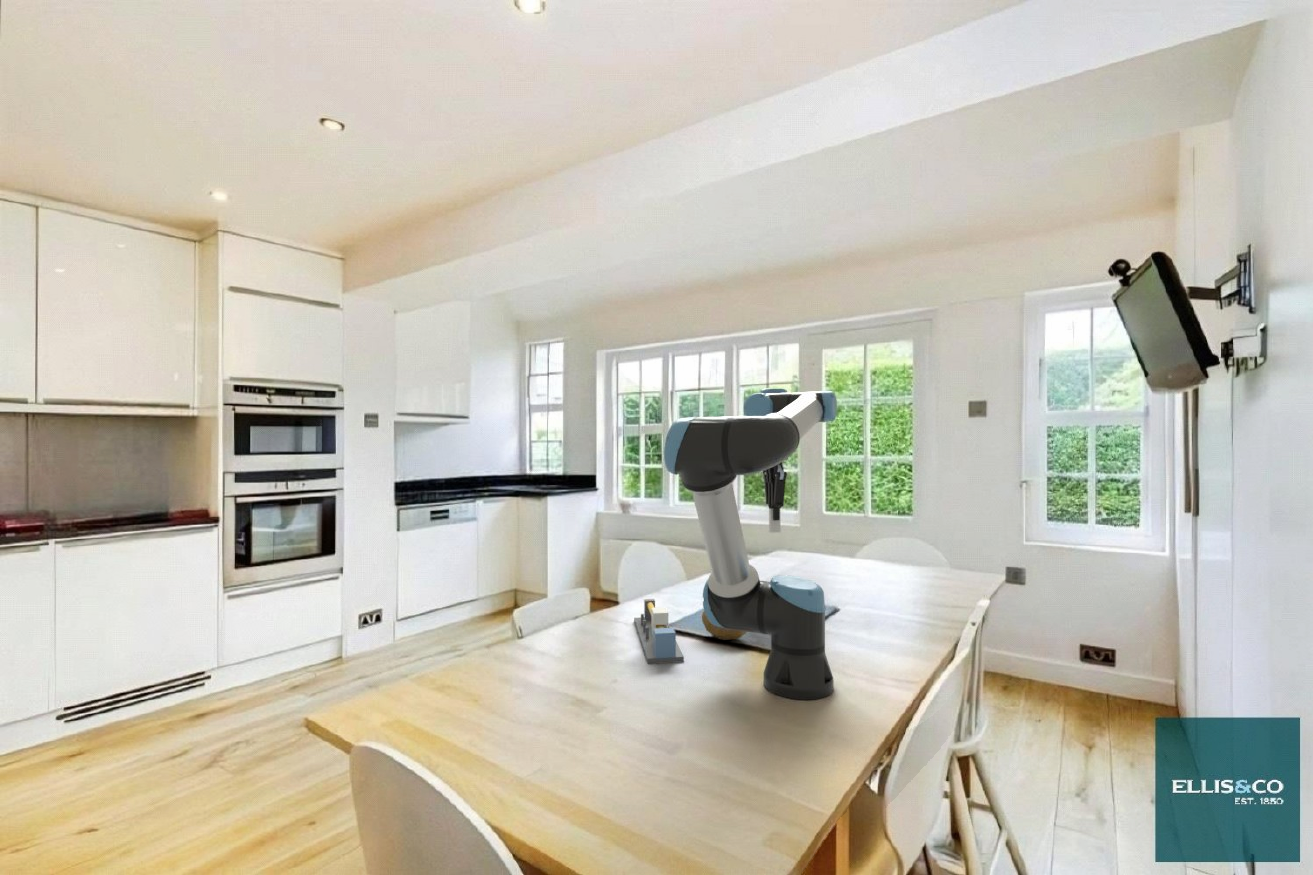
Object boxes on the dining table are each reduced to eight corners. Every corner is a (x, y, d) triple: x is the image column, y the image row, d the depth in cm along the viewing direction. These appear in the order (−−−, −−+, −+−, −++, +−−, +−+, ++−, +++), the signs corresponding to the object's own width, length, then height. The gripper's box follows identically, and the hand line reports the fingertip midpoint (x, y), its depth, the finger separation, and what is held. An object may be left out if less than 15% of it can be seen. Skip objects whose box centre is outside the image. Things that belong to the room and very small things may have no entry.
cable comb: (683, 661, 148) (683, 632, 148) (647, 663, 147) (647, 633, 147) (663, 620, 182) (663, 596, 182) (634, 621, 181) (634, 597, 181)
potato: (739, 649, 157) (738, 618, 157) (694, 638, 165) (694, 609, 165) (757, 639, 164) (757, 610, 164) (714, 629, 173) (714, 601, 173)
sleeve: (668, 637, 155) (668, 612, 155) (653, 637, 155) (653, 613, 155) (665, 630, 160) (665, 607, 160) (651, 631, 160) (651, 607, 160)
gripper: (796, 445, 158) (796, 535, 158) (779, 445, 171) (780, 528, 171) (768, 445, 157) (769, 536, 157) (753, 445, 170) (754, 528, 170)
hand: (774, 531), depth 164 cm, fingers closed
